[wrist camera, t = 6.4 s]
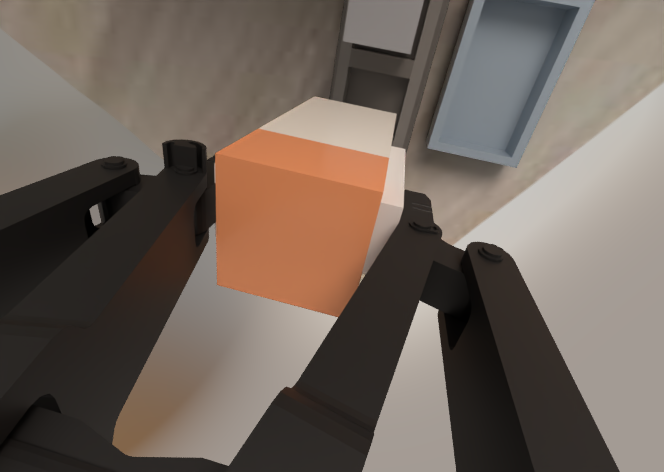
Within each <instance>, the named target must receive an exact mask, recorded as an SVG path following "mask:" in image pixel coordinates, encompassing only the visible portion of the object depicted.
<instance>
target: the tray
mask: <svg viewBox="0 0 664 472" xmlns="http://www.w3.org/2000/svg"><path fill="white" fill-rule="evenodd" d="M594 2H595V0H469V4H468V7H467V10H466V13H465V17H464V20H463V23H462V26H461V29H460V33H459V36H458V39H457V42H456V46H455V49H454V52H453V55H452V58H451V62H450V65H449V68H448V71H447V75H446V78H445V81H444V84H443V87H442V91H441V94H440V97H439V100H438V104H437V107H436V110H435V113H434V116H433V120H432V123H431V126H430V129H429V132H428V136H427V139H426V143H427V148H428V149H433V150H437V151H442V152H447V153H451V154H456V155H460V156H465V157H469V158H474V159H478V160H483V161H488V162H492V163H497V164H501V165H506V166H510V167H515V168H517V166H518V164H519V161H520V159H521V157H522V155H523V153H524V151H525V149H526V147H527V144H528V142H529V140H530V138H531V136H532V134H533V132H534V129H535V127H536V125H537V123H538V121H539V119H540V117H541V115H542V112H543V110H544V108H545V106H546V104H547V102H548V100H549V98H550V95H551V93H552V91H553V89H554V87H555V85H556V83H557V80H558V78H559V76H560V74H561V72H562V70H563V68H564V66H565V63H566V61H567V59H568V57H569V55H570V53H571V51H572V48H573V46H574V44H575V42H576V40H577V38H578V36H579V34H580V31H581V29H582V27H583V25H584V23H585V21H586V19H587V17H588V14H589V12H590V10H591V8H592V6H593V4H594Z"/></svg>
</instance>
